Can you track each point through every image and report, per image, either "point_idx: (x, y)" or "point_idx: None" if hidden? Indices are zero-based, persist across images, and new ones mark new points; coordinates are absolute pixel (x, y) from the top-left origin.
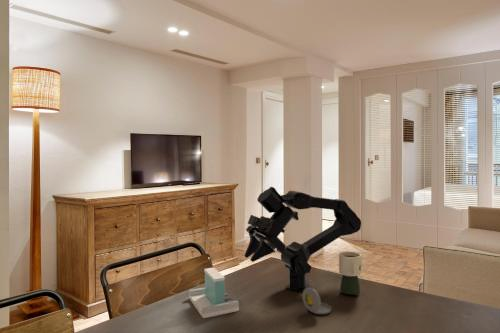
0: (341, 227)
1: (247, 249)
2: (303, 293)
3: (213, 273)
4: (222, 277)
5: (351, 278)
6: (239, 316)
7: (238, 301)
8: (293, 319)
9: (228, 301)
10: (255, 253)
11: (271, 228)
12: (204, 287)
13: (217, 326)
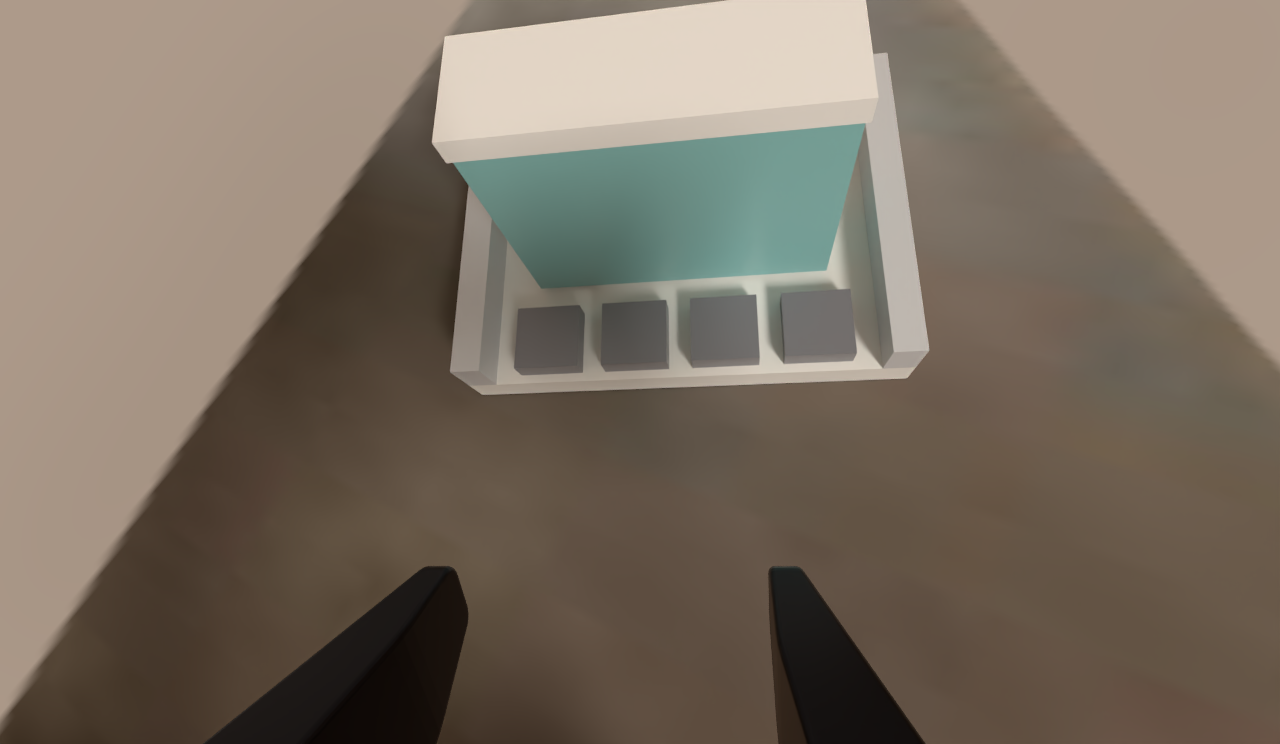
0: None
1: (843, 701)
2: None
3: (633, 55)
4: (450, 120)
5: None
6: (403, 367)
7: (452, 369)
8: (132, 738)
9: (551, 318)
10: (258, 699)
11: None
12: (902, 178)
13: (363, 201)
